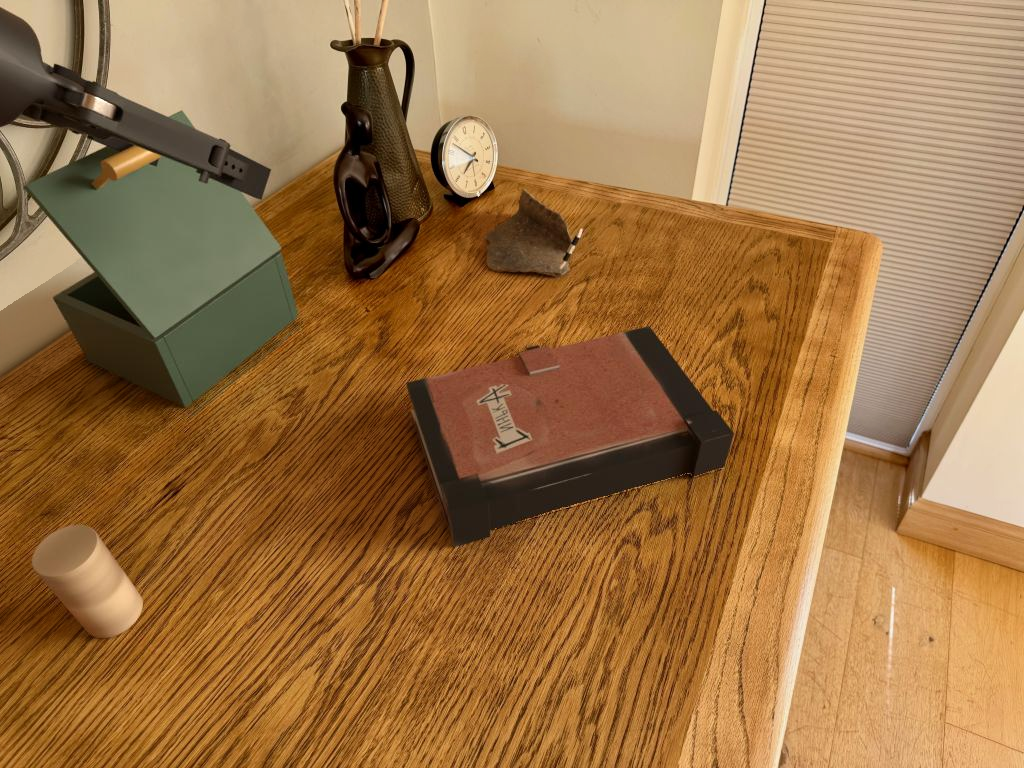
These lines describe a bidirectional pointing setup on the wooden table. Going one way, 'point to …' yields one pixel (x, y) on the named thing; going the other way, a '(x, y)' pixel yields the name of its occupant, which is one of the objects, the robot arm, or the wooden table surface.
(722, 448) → the red and black box
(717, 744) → the wooden table surface
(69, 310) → the chest
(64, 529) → the peg
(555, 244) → the pottery fragment
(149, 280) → the lid
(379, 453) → the wooden table surface
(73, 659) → the wooden table surface
